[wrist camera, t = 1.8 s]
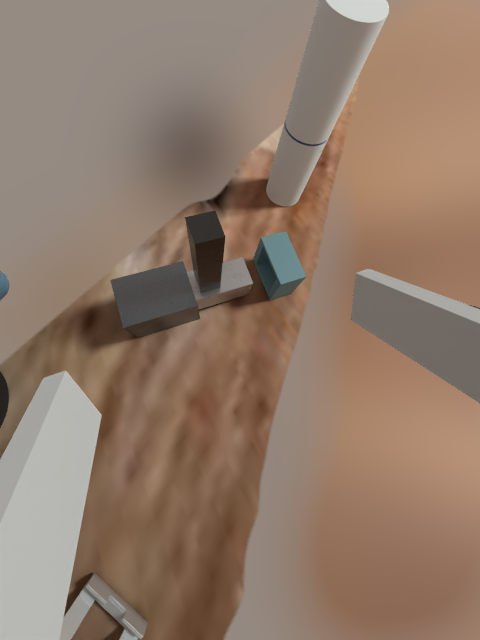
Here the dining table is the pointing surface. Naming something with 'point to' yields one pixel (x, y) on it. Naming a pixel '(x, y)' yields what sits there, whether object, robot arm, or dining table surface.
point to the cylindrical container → (322, 89)
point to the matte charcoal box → (155, 299)
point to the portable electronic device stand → (109, 602)
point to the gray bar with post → (213, 263)
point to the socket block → (278, 265)
